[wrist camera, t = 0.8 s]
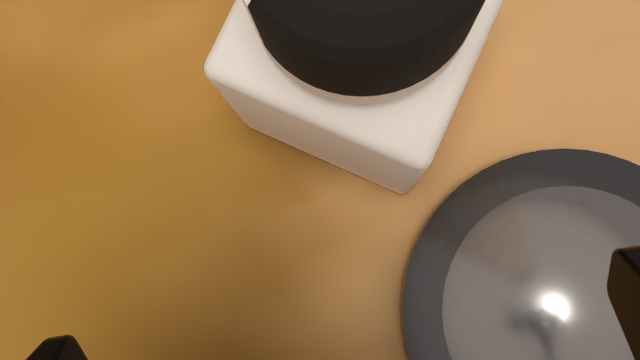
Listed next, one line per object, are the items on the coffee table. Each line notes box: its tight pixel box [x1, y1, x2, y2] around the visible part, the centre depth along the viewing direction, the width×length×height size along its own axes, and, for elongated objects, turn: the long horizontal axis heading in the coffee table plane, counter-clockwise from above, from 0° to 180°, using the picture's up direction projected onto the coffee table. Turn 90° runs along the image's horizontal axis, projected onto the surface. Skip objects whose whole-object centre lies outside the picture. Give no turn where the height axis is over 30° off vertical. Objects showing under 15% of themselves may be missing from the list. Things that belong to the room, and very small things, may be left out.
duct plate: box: [401, 149, 640, 360], centre depth 22 cm, size 12×12×1 cm
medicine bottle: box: [204, 0, 504, 194], centre depth 18 cm, size 7×7×12 cm
